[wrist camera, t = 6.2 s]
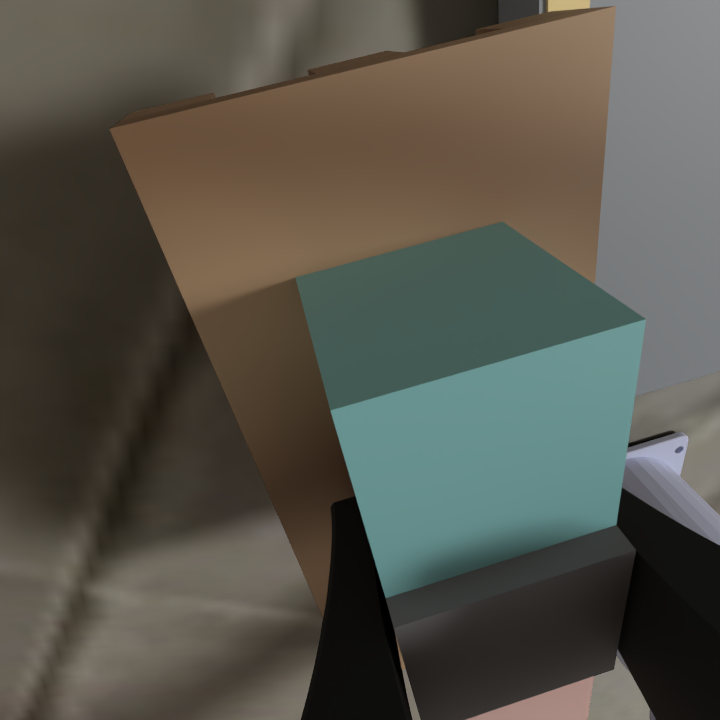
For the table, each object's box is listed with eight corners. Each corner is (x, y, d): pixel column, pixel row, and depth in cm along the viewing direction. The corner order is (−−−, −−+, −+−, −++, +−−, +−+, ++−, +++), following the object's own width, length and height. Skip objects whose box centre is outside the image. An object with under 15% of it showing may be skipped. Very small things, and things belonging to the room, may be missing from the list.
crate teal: (508, 387, 12) (616, 524, 8) (341, 436, 12) (385, 598, 8) (502, 221, 10) (645, 319, 6) (295, 277, 9) (329, 410, 6)
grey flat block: (777, 314, 25) (828, 340, 23) (509, 392, 24) (536, 427, 22) (976, -318, 14) (1113, -382, 12) (491, -220, 13) (543, -271, 11)
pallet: (541, 565, 20) (657, 763, 14) (342, 629, 19) (385, 860, 14) (550, 11, 10) (948, -21, 4) (131, 112, 9) (-13, 219, 4)
